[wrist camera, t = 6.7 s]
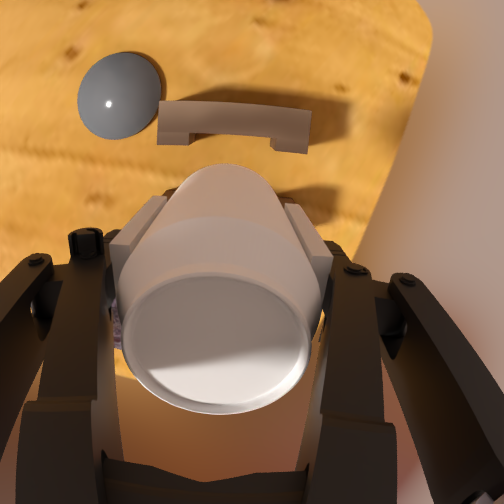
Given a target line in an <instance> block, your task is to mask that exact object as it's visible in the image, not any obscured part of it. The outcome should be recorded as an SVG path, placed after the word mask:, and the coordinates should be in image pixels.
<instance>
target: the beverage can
mask: <svg viewBox="0 0 504 504" xmlns="http://www.w3.org/2000/svg"><path fill="white" fill-rule="evenodd" d="M116 303H117V311H118V316H119V320H120V323H121V327H122V329H121V347H122V352H123V355H124V358H125V361H126V363H127V365H128V367H129V369H130V370H131V372H132V373H133V375H134V376H135V377H136V379H137V380H138V381H139V382H140V383H141V384H142V385H143V386H144V387H145V388H146V389H148V390H149V391H150V392H151V393H153V394H154V395H156V396H157V397H159V398H160V399H162V400H164V401H166V402H168V403H170V404H172V405H174V406H177V407H180V408H182V409H186V410H189V411H194V412H198V413H205V414H218V415H219V414H220V415H223V414H236V413H243V412H247V411H251V410H255V409H258V408H261V407H263V406H266V405H268V404H270V403H272V402H274V401H276V400H277V399H279V398H281V397H282V396H283V395H285V394H286V393H287V392H289V391H290V390H291V389H292V388H293V387H294V386H295V385H296V384H297V383H298V381H299V380H300V379H301V377H302V376H303V374H304V372H305V370H306V368H307V366H308V363H309V360H310V356H311V347H312V343H311V341H312V339H313V337H314V335H315V333H316V330H317V327H318V324H319V320H320V315H321V293H320V288H319V284H318V281H317V278H316V275H315V273H314V271H313V269H312V267H311V264H310V262H309V260H308V258H307V256H306V254H305V252H304V250H303V248H302V246H301V244H300V241H299V239H298V237H297V235H296V233H295V231H294V229H293V227H292V225H291V223H290V221H289V219H288V217H287V215H286V213H285V211H284V209H283V207H282V205H281V203H280V201H279V199H278V197H277V196H276V194H275V192H274V190H273V189H272V188H271V186H270V185H269V184H268V182H267V181H266V180H265V179H264V178H263V177H261V176H260V175H259V174H257V173H256V172H254V171H252V170H250V169H248V168H246V167H243V166H240V165H235V164H215V165H211V166H207V167H204V168H202V169H200V170H198V171H196V172H194V173H193V174H192V175H190V176H189V177H188V178H187V179H186V180H185V181H184V182H183V183H182V184H181V185H180V186H179V187H178V189H177V190H176V191H175V193H174V194H173V195H172V196H171V198H170V199H169V201H168V202H167V203H166V205H165V206H164V207H163V209H162V210H161V211H160V213H159V214H158V216H157V217H156V218H155V220H154V221H153V223H152V224H151V225H150V227H149V228H148V230H147V231H146V233H145V234H144V236H143V237H142V238H141V240H140V241H139V243H138V244H137V246H136V247H135V249H134V250H133V252H132V253H131V255H130V256H129V258H128V260H127V261H126V263H125V265H124V267H123V269H122V272H121V274H120V277H119V281H118V286H117V294H116Z"/></svg>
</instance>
